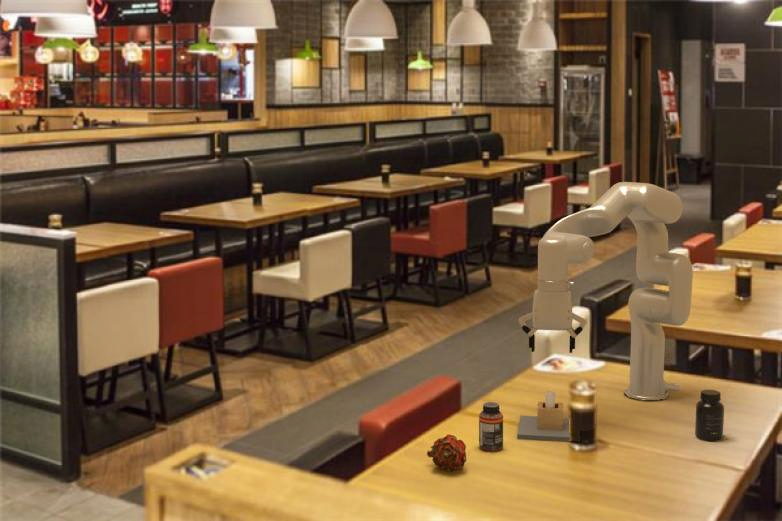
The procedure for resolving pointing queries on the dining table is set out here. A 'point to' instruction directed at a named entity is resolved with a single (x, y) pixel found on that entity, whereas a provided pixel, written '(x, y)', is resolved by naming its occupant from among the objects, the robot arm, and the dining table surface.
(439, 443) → the dragon fruit
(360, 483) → the dining table surface
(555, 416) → the collar
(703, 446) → the dining table surface
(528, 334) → the robot arm
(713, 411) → the supplement bottle
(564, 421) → the shaft block
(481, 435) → the supplement bottle
